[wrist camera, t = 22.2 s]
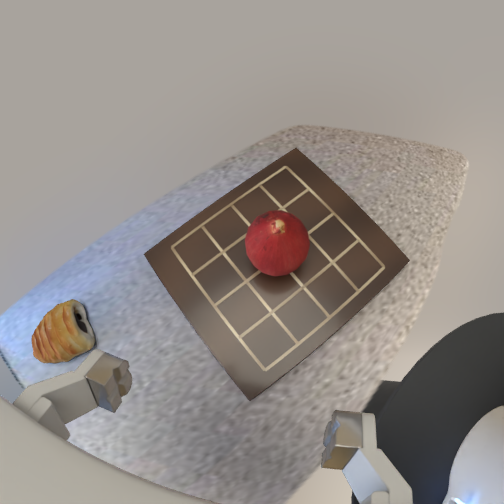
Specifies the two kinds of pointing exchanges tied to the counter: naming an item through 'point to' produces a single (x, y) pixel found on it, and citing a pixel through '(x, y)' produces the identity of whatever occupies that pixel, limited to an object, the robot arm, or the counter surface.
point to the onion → (277, 243)
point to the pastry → (63, 334)
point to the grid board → (274, 287)
